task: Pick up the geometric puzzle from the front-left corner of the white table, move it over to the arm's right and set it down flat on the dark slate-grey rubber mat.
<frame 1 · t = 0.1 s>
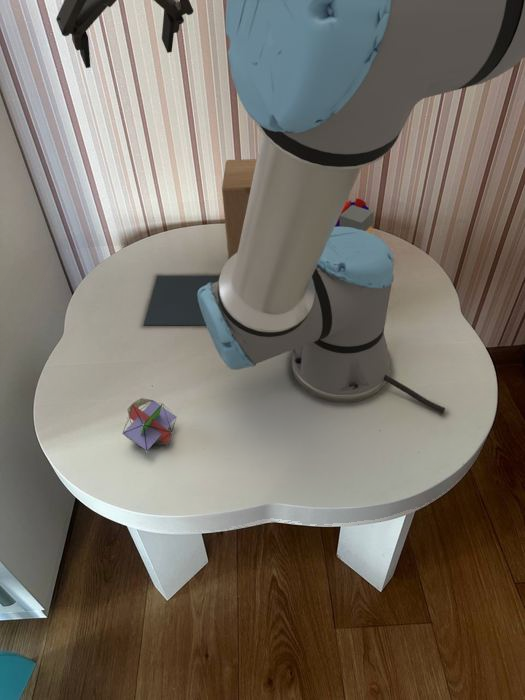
hand: (126, 53, 91), 36 cm above the table, tool tilted 35°, fingers open, 13 cm apart
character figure: (349, 306, 100), on the table
geometric puzzle: (154, 439, 81), on the table
wooden block: (258, 269, 109), on the table
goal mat: (183, 299, 103), on the table
fantasy tower: (346, 255, 111), on the table
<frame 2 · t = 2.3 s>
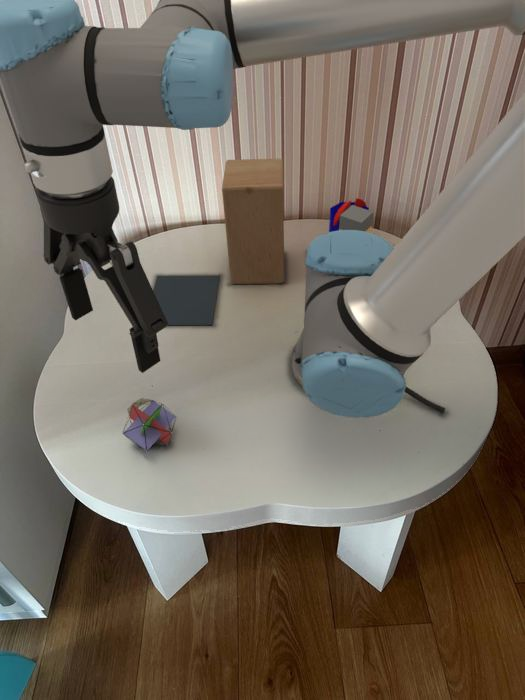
hand: (114, 338, 70), 17 cm above the table, tool pointing down, fingers open, 13 cm apart
nothing on the table moved.
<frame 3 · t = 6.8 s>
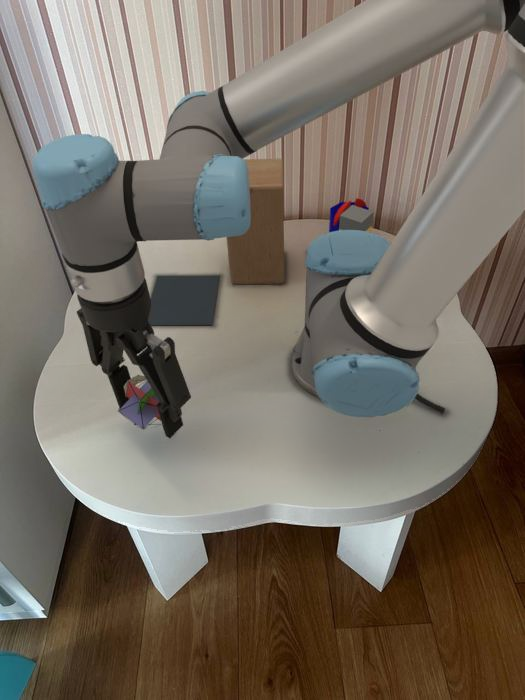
hand: (150, 416, 77), 5 cm above the table, tool pointing down, fingers closed on geometric puzzle, 8 cm apart
geometric puzzle: (151, 418, 77), point 5 cm above the table, touching gripper
everything else where it was.
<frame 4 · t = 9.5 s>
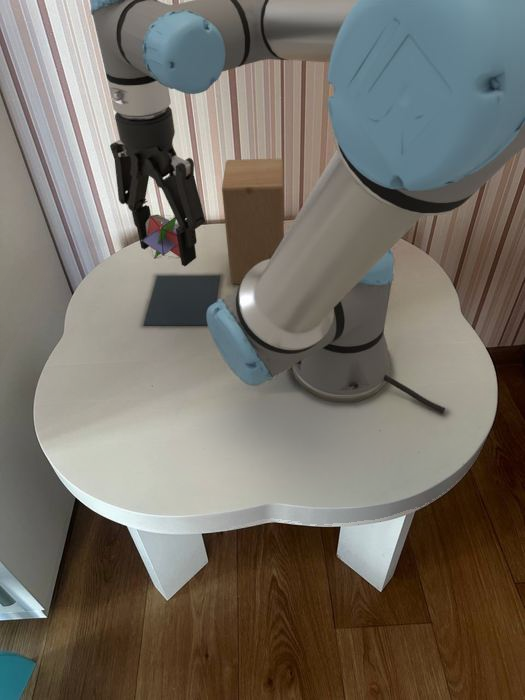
hand: (168, 252, 90), 13 cm above the table, tool pointing down, fingers closed on geometric puzzle, 8 cm apart
geometric puzzle: (168, 255, 91), point 13 cm above the table, touching gripper
everything else where it was.
when the fingers open (1 cm above the table, at t = 12.5 s): geometric puzzle stays where it is, resting on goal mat.
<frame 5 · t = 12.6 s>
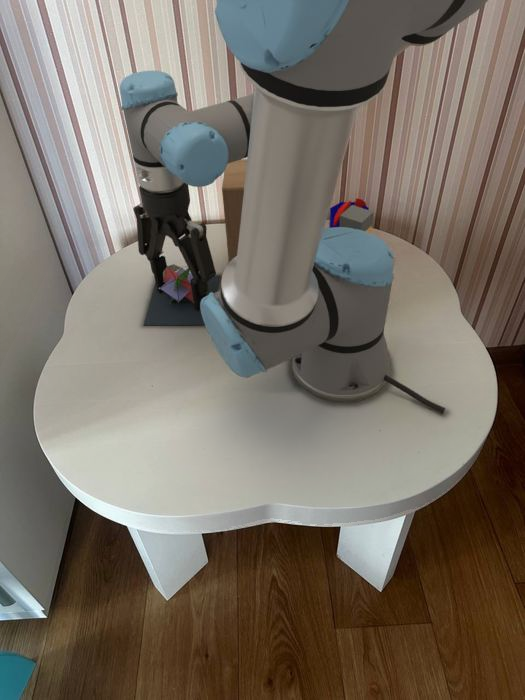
hand: (182, 297, 102), 0 cm above the table, tool pointing down, fingers open, 8 cm apart
geometric puzzle: (183, 299, 103), resting on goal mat
everything else where it was.
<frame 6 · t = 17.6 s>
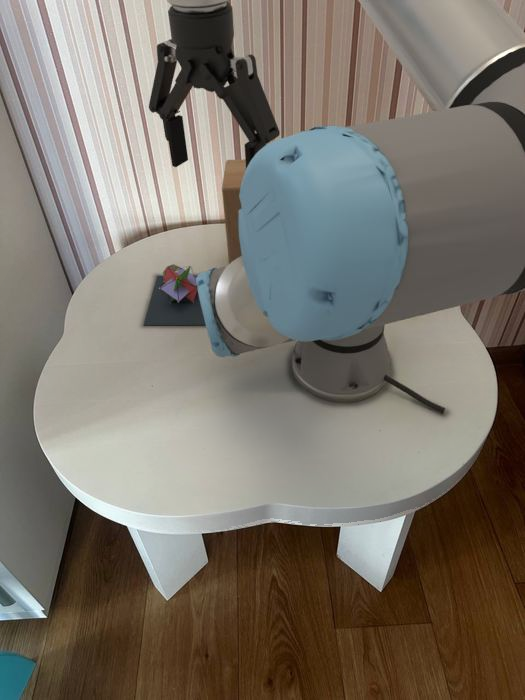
hand: (216, 175, 80), 27 cm above the table, tool pointing down, fingers open, 13 cm apart
nothing on the table moved.
at the end: geometric puzzle 0.1 cm from the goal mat (horizontally); geometric puzzle moved 31.2 cm from its start; geometric puzzle tilted 0° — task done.
